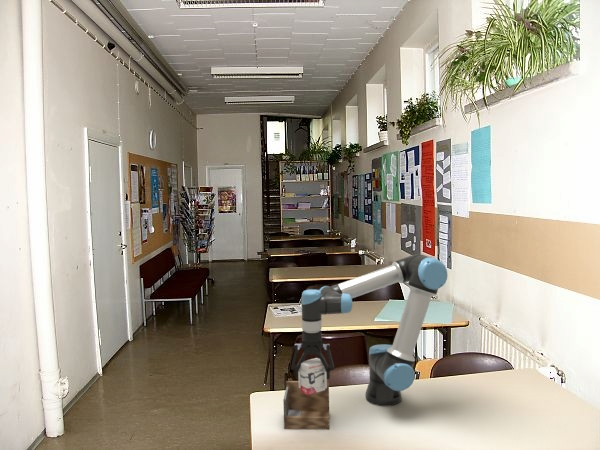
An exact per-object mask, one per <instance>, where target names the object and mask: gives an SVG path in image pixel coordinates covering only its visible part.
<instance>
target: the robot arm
mask: <svg viewBox="0 0 600 450" xmlns="http://www.w3.org/2000/svg"><path fill="white" fill-rule="evenodd" d="M447 280H448V270H447V267H446V266H445V264H444V263H443V262H442V261H440V260H439V259H437V258H436V257H432V256H427V255H424V254H421V253H420V254H419V253H416V254H411V255H409V256H406V257H404V258H401V259H398V260H394V261H393V262H392V263H391V265H388V266H385V267H382V268H380V269H377V270H374V271H371V272H369V273H365V274H363V275H359V276H357V277H354V278H351V279H348V280H346V281H343V282H340V283H337V284H335V285H331V286H329V285H324V286H322V287H320V288H319V289H306V290H303V292H301V293H302V294H301V302H300V303H301V329H302V331H301V336H302V338H301V341H302V342H301V343H297V342H296V343H294V347H293V348H294V353H293V356H292V360H291V364H290V370H293V371H294V372H295V379H296V380H297V381H298V382H299V388H301V376H300V366H301V364H302V363H303V361H305V359H306V357H307V355H308V356H309V355H313V356H316V355H317V358H319V359H320V360H321V362H322V364H323V365H324V367H325V388H327V381H328V380H330V378H331V377H330V376H331V375H330V373H331V371H334V370H335V364H334V361H333V356H332V353H331V350H330V349H331V345H330V343H329V342H328V343H324V342H323V335H322V327H323V325H322V315H339V314H342V315H344V314H348V313H351V312H352V310H353V299H354V298H357V297H360V296H363V295H365V294H368V293H370V292H375V291H376V290H379V289H380V290H381V289H383V288H385V287H387V286H388V287H389V286H391V285H393V284H396V283H399V284H404V283H407V282H408V284H407V287H408V289H409V293H408V296H407V299H406V302H405V306H404V308H403V312H402V315H401V317H400V320H399V324H398V326H397V327H398V328H397V331H396V334H395V335H394V340H393V342H392V344H387V343H386V344H375V345H372V346H370V347H369V349H368V351H369V352H368V358H369V360H368V361H369V362H368V363H369V382H368V383H367V388H366V391H365V399H366V401H367V402H369V404H372V405H375V406H382V407H383V406H385V407H387V406H388V407H389V406H394V405H398V404H400V403H401V402H402V391H405V390H407V389H409V388H410V387H411V386H412V385H413V383H414V381H415V378H416V377H415V376H416V374H415V370H414V369H413V368H414V364H415V361H416V358H415V356H414V352H415V348H416V345H417V342H418V339H419V337H420V334H421V330H422V327H423V325H424V321H425V318H426V315H427V312H428V308H429V305H430V303H431V300H432V298H433V297H435V296H437V294H438V291H439V290H440V288H442V287H444V285H445V284H446V282H447ZM300 349H302V350H303V353H302V355H301V357H300V359H299V360H298V362H297V364H296V361H297V357H298V353H299V350H300ZM322 349H324V350H325V351H326V355H327V358H328V362H327V360H326V358H325V356H324V355H323V353H322ZM328 363H329V364H328Z"/></svg>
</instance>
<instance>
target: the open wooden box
mask: <svg viewBox="0 0 600 450" xmlns="http://www.w3.org/2000/svg"><path fill="white" fill-rule="evenodd" d="M285 383H286V387H285V391H284V395H283V429H284V430H329V429H330V381H329V380H327V388H325V390H324V391H320V392H317V393H313V394H310V395H306V394H304V393H303V392H301V388H299V382H298V380H286V381H285Z"/></svg>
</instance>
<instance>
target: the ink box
mask: <svg viewBox="0 0 600 450" xmlns="http://www.w3.org/2000/svg"><path fill="white" fill-rule="evenodd" d="M299 369H300V376H301V392H303V393H304V394H306V395H310V394H313V393H317V392H320V391H324V390H325V367H324V365H323V364H322V362H321V360H320V358H319V357H315V358H311V359H307V360H304V361H303V363H302V364H301V366H300V368H299Z"/></svg>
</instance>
